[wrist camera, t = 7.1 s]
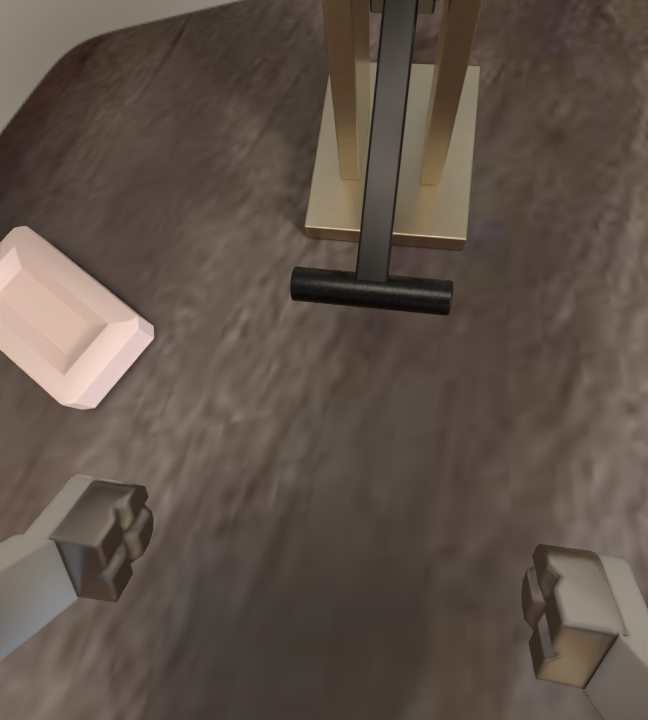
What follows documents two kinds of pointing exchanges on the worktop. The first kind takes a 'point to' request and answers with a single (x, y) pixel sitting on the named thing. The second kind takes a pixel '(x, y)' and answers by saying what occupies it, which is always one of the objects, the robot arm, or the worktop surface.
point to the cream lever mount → (421, 135)
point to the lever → (382, 188)
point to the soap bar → (64, 322)
